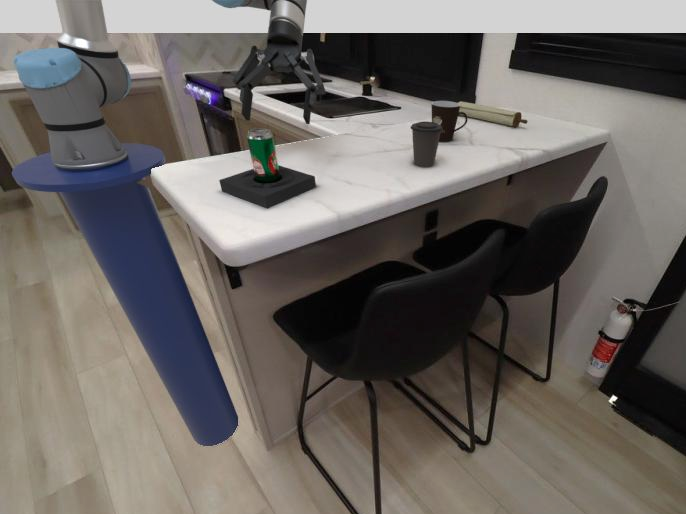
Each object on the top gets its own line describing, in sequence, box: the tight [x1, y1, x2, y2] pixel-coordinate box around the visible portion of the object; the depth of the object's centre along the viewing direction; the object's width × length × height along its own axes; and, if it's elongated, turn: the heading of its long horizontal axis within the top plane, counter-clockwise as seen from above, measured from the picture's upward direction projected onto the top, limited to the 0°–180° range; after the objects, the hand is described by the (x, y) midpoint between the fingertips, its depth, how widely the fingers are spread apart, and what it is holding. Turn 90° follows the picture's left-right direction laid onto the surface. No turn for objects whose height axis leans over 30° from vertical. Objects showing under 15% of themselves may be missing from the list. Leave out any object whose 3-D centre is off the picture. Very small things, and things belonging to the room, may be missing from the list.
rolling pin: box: [456, 100, 529, 128], centre depth 137 cm, size 32×6×5 cm, turn 49°
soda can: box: [246, 127, 280, 184], centre depth 79 cm, size 5×5×12 cm
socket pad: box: [218, 164, 317, 209], centre depth 82 cm, size 14×14×2 cm
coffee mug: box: [430, 100, 468, 143], centre depth 114 cm, size 12×9×10 cm
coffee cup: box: [410, 121, 443, 168], centre depth 96 cm, size 8×8×10 cm
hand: (275, 118), depth 83 cm, fingers open, 13 cm apart
